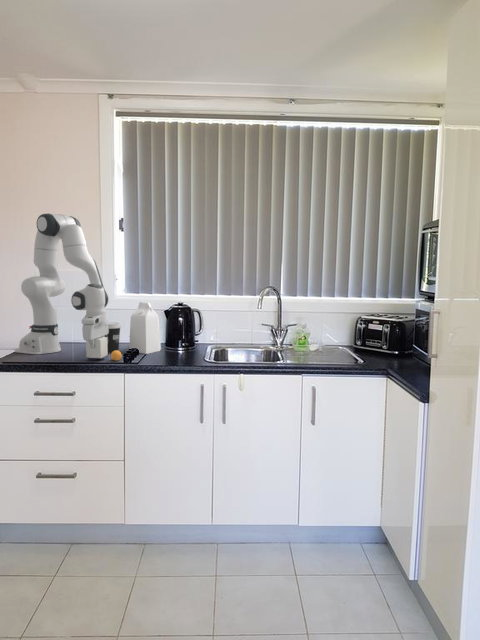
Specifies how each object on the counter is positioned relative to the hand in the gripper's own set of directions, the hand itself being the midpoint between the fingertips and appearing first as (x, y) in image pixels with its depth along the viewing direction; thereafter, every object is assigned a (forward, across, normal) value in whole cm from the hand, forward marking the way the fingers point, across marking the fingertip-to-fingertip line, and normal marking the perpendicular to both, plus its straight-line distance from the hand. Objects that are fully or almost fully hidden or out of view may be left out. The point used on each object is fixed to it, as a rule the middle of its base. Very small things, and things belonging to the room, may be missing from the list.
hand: (96, 346), depth 220 cm
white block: (+5, 0, 0) cm, 5 cm away
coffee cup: (+6, -20, -1) cm, 21 cm away
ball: (+4, 0, +10) cm, 10 cm away
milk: (+7, -26, +15) cm, 31 cm away
